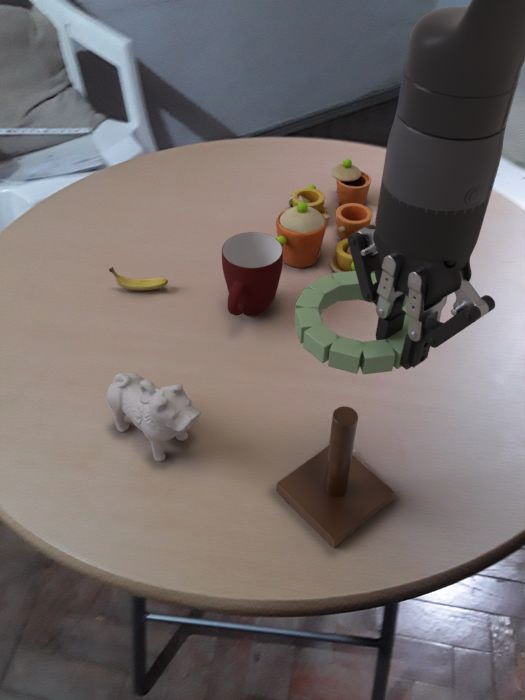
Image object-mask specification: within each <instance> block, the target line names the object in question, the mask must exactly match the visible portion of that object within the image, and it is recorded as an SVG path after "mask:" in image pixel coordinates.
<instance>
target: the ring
mask: <svg viewBox="0 0 525 700" xmlns="http://www.w3.org/2000/svg"><path fill="white" fill-rule="evenodd" d="M371 278H372V282H373V284H374V283H376V282H377V281H376V277H375V273H374V272H372V273H371ZM299 295H300V296H299V297H298V299H297V301H296V303H295V309H294V310H295V311H294V328H295V331H296V335H297V338H298V342H299V344H300V345H302V348H303V349H304V350H305V351H306V352H308V353H309V354H310V355H312V357H314V358H315V359H316V360H318V361H319V362H320V363H321V364H325V363H326V362H327V367H329V368H333V369H337V370H340V371H345V372H347V373H352V374H355V375H358V373H359V371H360V370H361V373H362V375H371V374H379V373H380V374H381V373H388V372H392V371H393V369H394V368H395V369H396V370H398V369H401V368H403V367H402V366H401V365H400V361H401V356H402V350H403V346H404V341H405V336H406V335H407V334H408V326H409V318H410V316H408V315H407V314H406V315H405V320H404V324H403V329H401V330H400V331H398V332H396V333H395V334H393V335H392V336H390V337H388V338H387V339H383V340H376V339H375V340H366V341H361V340H358V339H354V338H350V337H345V336H342V335H339V334H337V332H335V331H334V330H332V329H331V328H330V327H329V326H327V325H325V323H324V322H323V320H322V317H321V315H322V313H323V311H324V310H326V309H328V308H329V307H331V306H333V305H335V304H336V303H338V302H346V301H356V300H359V301H363V302H366V301H365V300H364V298H363V297H362V293H361V290H360V286H359V282H358V278H357V275H356V271H348V272H337V273H336V272H332V273H331V275H330V274H325V275H324V276H321V277H320V278H317V279H316V280H314V281H312V282H310V283H309V284H307V287H304V288H303V290H302V292H301V293H300V294H299ZM407 302H408V300H407ZM370 303H372V304H374V303H373V301H371V302H370ZM402 310H404V311H405V312H406V311H407V303H406V305H405V306H404V307H403V308H402Z"/></svg>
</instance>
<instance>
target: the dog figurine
mask: <svg viewBox="0 0 525 700" xmlns="http://www.w3.org/2000/svg"><path fill="white" fill-rule="evenodd" d="M105 395H106V400H107V404H108V405H109V407H110V408H111V412H112V414H113V418H114V423H115V428H116V430H117V431H118V432H121V433H124V432H125V431H127V430H129V428H130V425H129V423H127V422H126V421H125V420H124V419H125V418H124V417H125V416H126V417H127V418H128V419H129V420H130V421H131V422H133V425H134V427H136V428H137V429H138V430H140V431H142V433H143V435H144V436H145V438H146V439H148V440H149V443H150V445H151V451H152V456H153V459H154V460H155V461H156V462H163V461H165V460H166V457H167V456H166V454H165V452H164V451H165V446H166V442H167V441H169V440H171V439H173V438H176V439H177V440H178V441H181V442H185V441H186V440H187V439H188V438H189V435H188V433H187V430H188V429H190V428H191V427H192V426H193V425H194V424H195V423H196V421H197V420H198V419H199V418H200V416H201V414H202V411H201V410H199V409H197V408H196V407H195V406H194V405H193V401H192V400H191V399H190V398H189V397H188V395H187V393H186V391H185V390H184V386H183V384H182V383H176V384H170V385H165V386H162V387H158V386H157V385H155V384H154V383H153V382H152V381H151V380H150V379H145V377H143V376H141V375H140V374H138V373H135V372H130V373H129V372H128V373H123V372H118V373H117V374H115V375H114V378H113V381H112V383H111V384H109V386H108V388H107V391H106V394H105Z"/></svg>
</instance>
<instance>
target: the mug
mask: <svg viewBox="0 0 525 700" xmlns="http://www.w3.org/2000/svg"><path fill="white" fill-rule="evenodd" d="M221 247H222V248H221V268H222V273H223V276H224V281H225V284H226V287H227V291H228V297H227V311H228V312H229V313H230V315H233V316H240V315H245V316H249V317H257V316H260V315H263V314H264V313H265V312H266V311H267V310H268V308H269V307H270V306H271V304H272V303H273V302H274V300H275V298H276V295H277V291H278V288H279V285H280V284H279V283H280V279H281V275H282V271H283V265H284V261H283V249H282V245H281V244H280V242H279V241H278V240H277V238H275V237H274V236H272V235H271V234H267V233H263V232H259V231H258V232H257V231H246V232H240V233H237V234H234V235H233V236H231V237H229V238H227V240H225V241H224V243H223V245H222V246H221Z"/></svg>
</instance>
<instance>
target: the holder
mask: <svg viewBox="0 0 525 700" xmlns="http://www.w3.org/2000/svg"><path fill="white" fill-rule="evenodd" d="M358 421H359V415H358V412H357V411H356V410H355V409H354V408H352V407H350V406H346V405H344V406H339V407H337V408H336V409H334V411H333V413H332V418H331V427H330V434H329V443H328V446H326V447H325V448H323V449H322V450H320V451H319V452H318V453H316V454H315V455H313V456H312V457H311V458H310V459H308V460H307V461H305V462H304V463H302V464H301V465H299V467H297V468H296V469H294V470H292V471H291V472H290V473H289V474H288V475H285V477H283V478H282V479H280V480H279V481H277V482H276V483H275V484H276V485H275V492H277V494H278V495H280V497H281V498H282V499H284V500H285V502H287V504H289V505H290V506H291V507H292V508H293V509H294V510H295V511H296V512H297V514H298V515H300V516H301V517H302V518H303V519H304V521H306V523H308V524H309V525H310V527H312V528H313V529H314V530H315V531H316V532H317V533H318V534H319V535H320V536H321V537H322V538H323V539H324V541H326V542H327V543H328V544H329V545H330V546H331V547H332V548H334V549H335V548H336V547H337V546H338V545H339V544H341V543H342V542H343V541H344V540H346V539H347V538H348V537H349V536H351V535H352V534H353V533H354V532H355V531H356V530H358V529H359V528H360V527H362V526H363V525H364V524H366V522H368V521H369V520H370V519H371V518H372V517H374V516H375V515H376V514H377V513H379V512H380V511H381V510H382V509H384V508H385V507H386V506H387V505H388V504H389V503H391V502H392V501H393V500H394V498H395V494H396V492H395V490H393V489H392V488H391V487H390V486H389V485H388V484H386V482H384V481H383V480H382V479H381V478H379V476H377V475H376V474H375V473H374V472H373V471H371V470H370V469H369V468H368V467H367V466H366V465H365V464H363V462H361V461H360V460H359V459H358V458H357V457H355V456H354V455H353V451H354V447H355V441H356V433H357V426H358Z"/></svg>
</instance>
